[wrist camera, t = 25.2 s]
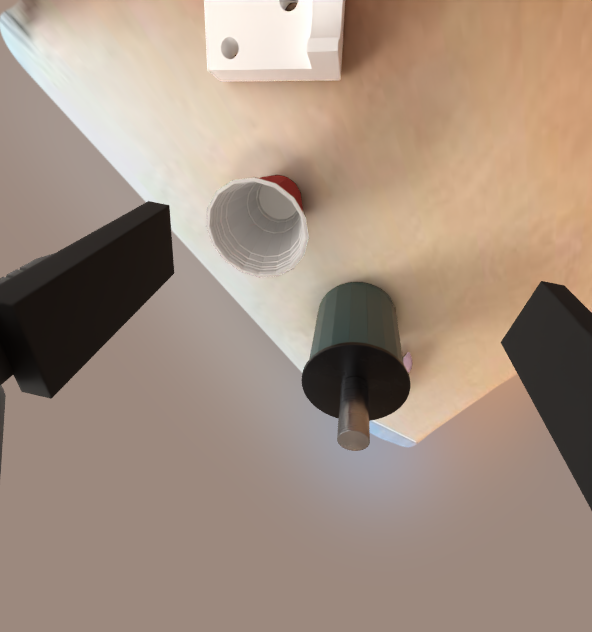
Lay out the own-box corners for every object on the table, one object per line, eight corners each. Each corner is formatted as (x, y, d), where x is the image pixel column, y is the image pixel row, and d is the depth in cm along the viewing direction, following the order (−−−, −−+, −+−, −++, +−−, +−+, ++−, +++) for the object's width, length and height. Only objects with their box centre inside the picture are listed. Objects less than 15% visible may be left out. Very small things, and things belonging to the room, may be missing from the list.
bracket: (346, -6, 33) (344, -62, 26) (340, 80, 35) (337, 51, 28) (217, -1, 34) (182, -52, 27) (220, 81, 37) (189, 54, 30)
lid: (425, 352, 37) (441, 415, 30) (390, 423, 44) (395, 487, 37) (312, 328, 37) (301, 384, 30) (296, 402, 45) (283, 461, 38)
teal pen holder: (406, 290, 48) (420, 357, 37) (382, 351, 55) (387, 424, 43) (326, 274, 49) (316, 334, 37) (312, 336, 56) (299, 404, 44)
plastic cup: (228, 217, 46) (192, 253, 37) (255, 137, 40) (221, 155, 30) (298, 252, 48) (283, 296, 38) (335, 180, 41) (327, 210, 32)
